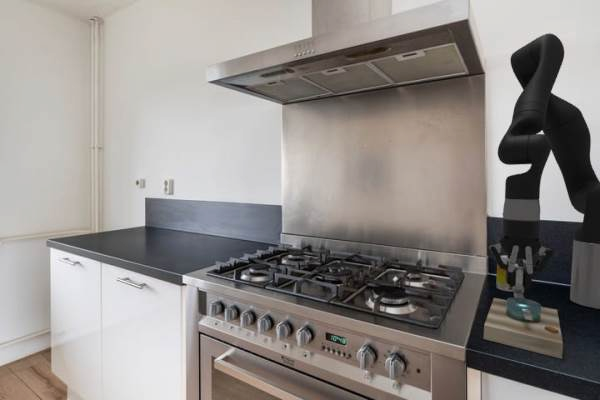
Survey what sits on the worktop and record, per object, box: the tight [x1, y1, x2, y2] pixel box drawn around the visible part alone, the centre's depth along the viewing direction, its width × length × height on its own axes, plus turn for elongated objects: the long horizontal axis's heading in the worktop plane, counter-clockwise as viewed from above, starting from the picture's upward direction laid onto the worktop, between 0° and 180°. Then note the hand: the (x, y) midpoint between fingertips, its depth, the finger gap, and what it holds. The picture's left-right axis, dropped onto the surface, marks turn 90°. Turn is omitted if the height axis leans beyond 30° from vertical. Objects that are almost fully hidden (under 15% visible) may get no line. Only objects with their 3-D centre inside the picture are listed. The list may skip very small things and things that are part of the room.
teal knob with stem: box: [506, 265, 542, 322], centre depth 75 cm, size 17×6×9 cm, turn 153°
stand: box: [483, 297, 564, 359], centre depth 74 cm, size 20×13×4 cm, turn 144°
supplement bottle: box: [495, 255, 519, 293], centre depth 101 cm, size 6×6×10 cm
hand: (518, 286), depth 81 cm, fingers open, 2 cm apart
